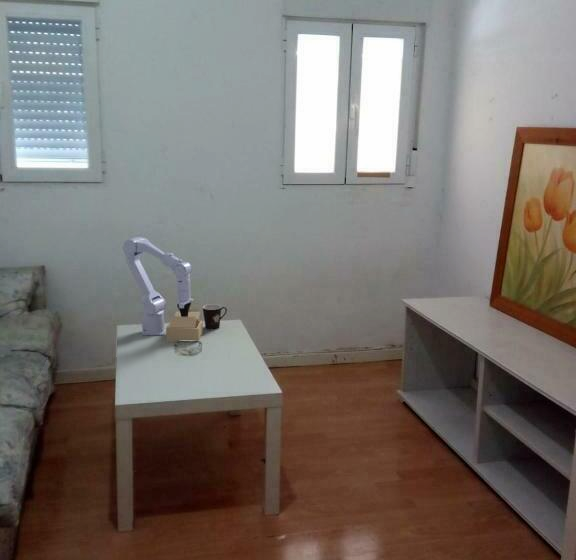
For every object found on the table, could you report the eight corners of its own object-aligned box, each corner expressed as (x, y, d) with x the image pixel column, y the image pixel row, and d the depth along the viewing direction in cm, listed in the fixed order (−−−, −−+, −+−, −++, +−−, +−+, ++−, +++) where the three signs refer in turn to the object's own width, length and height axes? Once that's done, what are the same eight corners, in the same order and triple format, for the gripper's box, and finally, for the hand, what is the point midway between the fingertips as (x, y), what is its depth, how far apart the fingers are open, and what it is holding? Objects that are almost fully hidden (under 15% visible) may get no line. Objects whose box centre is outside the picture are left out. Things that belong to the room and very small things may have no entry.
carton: (166, 341, 276) (166, 328, 274) (171, 332, 287) (171, 319, 286) (198, 342, 276) (198, 328, 274) (202, 332, 287) (202, 320, 286)
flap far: (200, 311, 289) (200, 312, 289) (175, 311, 289) (175, 312, 289) (198, 319, 285) (198, 320, 286) (174, 319, 286) (174, 319, 286)
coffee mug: (204, 331, 290) (203, 310, 287) (202, 325, 298) (201, 304, 295) (229, 329, 292) (229, 308, 290) (226, 323, 301) (226, 303, 298)
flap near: (170, 316, 277) (170, 316, 276) (195, 317, 277) (195, 316, 276) (169, 327, 275) (169, 327, 275) (195, 327, 275) (195, 327, 274)
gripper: (190, 294, 270) (191, 324, 273) (195, 285, 284) (196, 314, 287) (173, 294, 270) (174, 324, 273) (179, 285, 284) (180, 314, 288)
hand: (184, 319), depth 280 cm, fingers closed
